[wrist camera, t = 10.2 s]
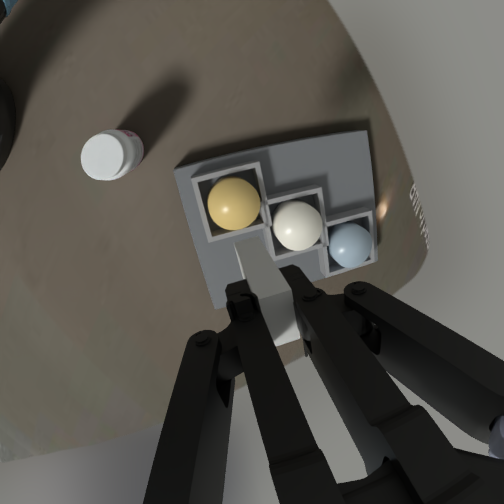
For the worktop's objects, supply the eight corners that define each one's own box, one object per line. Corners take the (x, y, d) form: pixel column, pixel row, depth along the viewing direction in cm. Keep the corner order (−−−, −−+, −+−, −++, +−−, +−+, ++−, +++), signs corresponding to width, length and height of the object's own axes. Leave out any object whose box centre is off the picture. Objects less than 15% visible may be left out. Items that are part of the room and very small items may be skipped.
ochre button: (201, 183, 30) (202, 187, 28) (249, 170, 30) (254, 173, 28) (213, 228, 32) (215, 235, 30) (259, 216, 32) (264, 222, 30)
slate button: (323, 226, 34) (332, 232, 32) (360, 216, 34) (371, 222, 32) (327, 264, 36) (336, 273, 34) (363, 253, 37) (372, 261, 34)
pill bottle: (142, 126, 29) (126, 124, 21) (146, 168, 31) (131, 180, 23) (101, 134, 28) (74, 135, 21) (106, 175, 30) (80, 189, 22)
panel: (174, 167, 31) (171, 172, 28) (356, 129, 33) (375, 130, 29) (213, 299, 38) (216, 317, 34) (368, 253, 40) (384, 266, 36)
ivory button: (267, 205, 32) (272, 210, 30) (310, 194, 32) (319, 199, 30) (275, 247, 34) (281, 256, 32) (316, 236, 34) (325, 243, 32)
